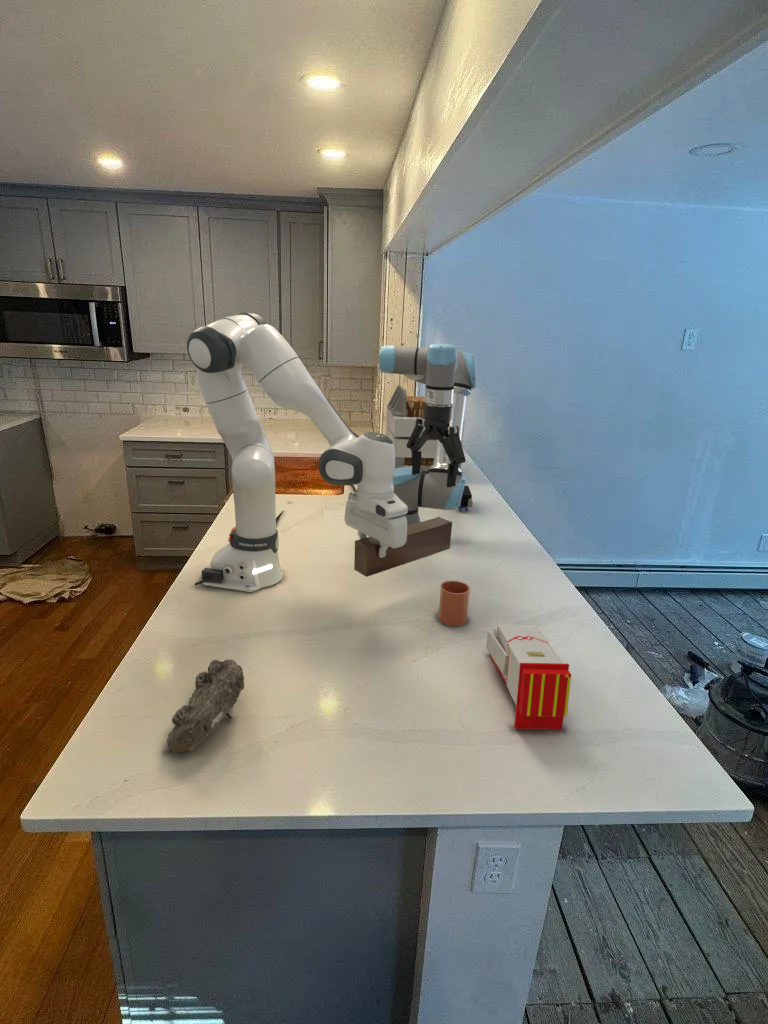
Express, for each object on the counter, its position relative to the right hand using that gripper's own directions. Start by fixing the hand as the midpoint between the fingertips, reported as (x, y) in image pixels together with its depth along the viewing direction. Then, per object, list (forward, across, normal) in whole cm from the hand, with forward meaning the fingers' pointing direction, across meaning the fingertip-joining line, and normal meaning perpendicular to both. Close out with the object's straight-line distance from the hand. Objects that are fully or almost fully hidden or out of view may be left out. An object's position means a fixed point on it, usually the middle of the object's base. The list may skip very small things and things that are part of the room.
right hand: (432, 480), depth 159 cm
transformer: (+33, -80, +77) cm, 116 cm away
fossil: (+28, +19, -77) cm, 84 cm away
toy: (+28, +50, -22) cm, 62 cm away
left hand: (+12, +6, -27) cm, 30 cm away
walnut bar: (+17, +7, -16) cm, 24 cm away
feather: (+31, -69, -8) cm, 76 cm away
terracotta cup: (+29, +22, -13) cm, 39 cm away
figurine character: (+32, -35, +56) cm, 73 cm away
